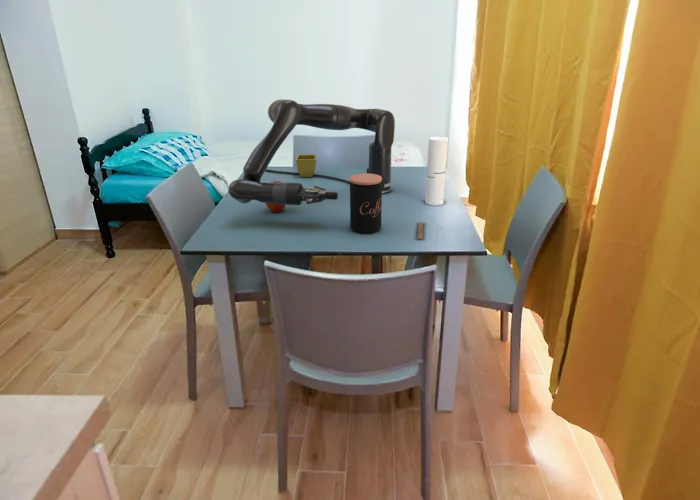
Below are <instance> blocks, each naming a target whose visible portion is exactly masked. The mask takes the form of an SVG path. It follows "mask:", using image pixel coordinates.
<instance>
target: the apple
mask: <svg viewBox="0 0 700 500" xmlns="http://www.w3.org/2000/svg"><path fill="white" fill-rule="evenodd" d="M280 182H281V181H279V180H278V181H277V180H274V181H269V183H280ZM265 205H266V207H267V209H268V210H269V211H271V212H273V213H279V212H282V211H283V210H284V208H285V207H286V205H284V204H276V203H265Z"/></svg>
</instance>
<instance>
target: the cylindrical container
mask: <svg viewBox="0 0 700 500" xmlns="http://www.w3.org/2000/svg"><path fill="white" fill-rule="evenodd" d="M427 145H428V146H427V160H426V161H427V163H426V180H425V181H426V182H425V198H424V202H425V204H426V205H429V206H440V205H441V206H442V205H444V203H445V202H444V201H445V190H446V189H445V188H446V176H447V163H448V162H447V161H448V148H449V137H446V136H436V135H435V136H430V137H428V144H427Z"/></svg>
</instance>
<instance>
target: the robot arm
mask: <svg viewBox="0 0 700 500" xmlns="http://www.w3.org/2000/svg"><path fill="white" fill-rule="evenodd" d="M267 116H268V118H269V120H270V121H271V122H272V123H273V124H272V126H271V128H270V129H269V131H268V132H267V134H266V135H265V136H264V137H263V138H262V140H261V141H260V142H259V143H258V144H257V145H256V146H255V147H254V149H253V150H252V152H251V153H250V155H249V156H248V158H247V160H246V162H245V163H244V166H243V168H242V172H243V176H242V179H239V178H238V179H235V180H232V182H230V184H229V185H228V188H227V189H228V191H227V192H228V194H229V196H230V197H231V198H232V199H234V200H235V201H237V202H239V203H241V204H248V203H250V202H251V201H257V202H260V203H264V204H266V203H276V204H284V205H285V206H286V205H288V206H301V205H302V204H303V202H305V203H306V205H312V204H316V203H323V202H324V201H326V200H333V201H334V200H335V201H336V200H338V198H339V193H338V192H337V191H327V188H323V187H320V186H317V185H314V186H313V187H311V186H309V187H307V188H304V187H303V184H302V183H301V182H282V181H280V183H270V182H262V177H263V175H265V174H264V173H265V172H269V173H277V174H284V175H285V174H286V175H298V176H300V174H299V172H294V171H283V170H273V169H268V167H269V165H270V163H271V161H272V159H273V158H274V156H275V154H276V153H277V151H278V150H279V148H280V147H281V146H282V144H283V143H284V142H285V141H286V139H287V137H288V136H289V135H290V134H291V132H292V131H293V130H294V129H295V127H296V126H307V127H312V128H317V129H323V130H330V131H346V130H351V129H360V130H366V131H370V132H373V133H374V140H373V141H370V142H369V144H368V167H367V168H366V173H369V174H376V175H379V176H381V177H382V181H381V182H380V183H381V185H382V194H387V193H390V192H391V191H392V188H391V186H392V181H391V180H392V146H393V144H394V139H395V128H396V120H395V116H394V113H392V112H391V111H390V110H386V109H381V108H354V107H350V106H348V105H342V104H333V103H311V104H304V103H303V104H302V103H298V102H297V101H295V100H292V99H283V98H281V99H277V100H275V101H273V102H271V104H270V105H269V106H268V109H267ZM312 177H319V178H325V179H330V180H336V181H340V182H344V183H347V184H349V185H350V184H351V182H350V180H347V179H343V178H339V177H335V176H330V175H323V174H316V173H314V174H313V176H312Z"/></svg>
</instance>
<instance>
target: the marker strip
mask: <svg viewBox="0 0 700 500" xmlns="http://www.w3.org/2000/svg"><path fill="white" fill-rule="evenodd" d="M423 235H424V222H418V228H417V237H416V239H417V240H420V241H421V240H422V241H423Z"/></svg>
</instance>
